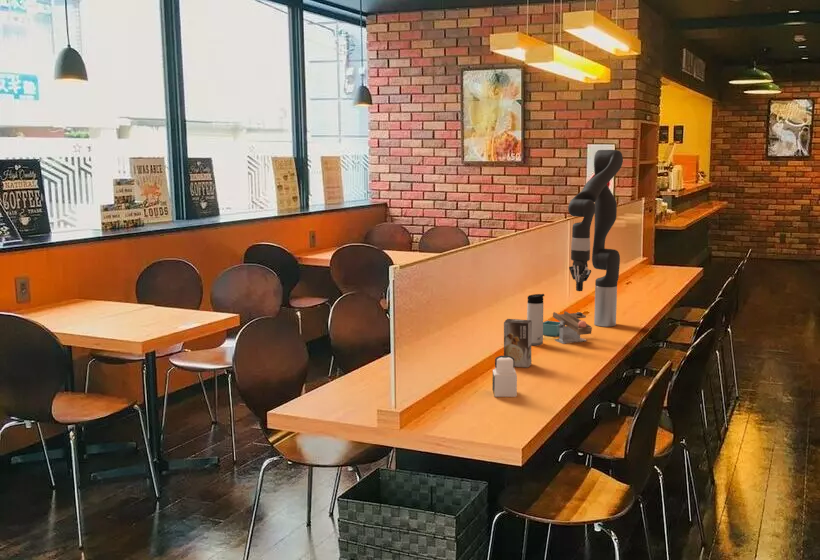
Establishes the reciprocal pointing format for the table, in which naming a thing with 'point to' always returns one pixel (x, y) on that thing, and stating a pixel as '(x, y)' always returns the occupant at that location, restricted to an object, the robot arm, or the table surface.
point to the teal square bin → (551, 328)
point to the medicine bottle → (504, 377)
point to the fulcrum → (568, 334)
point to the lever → (573, 322)
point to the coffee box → (518, 341)
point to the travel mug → (536, 318)
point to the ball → (582, 324)
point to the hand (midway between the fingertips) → (579, 290)
